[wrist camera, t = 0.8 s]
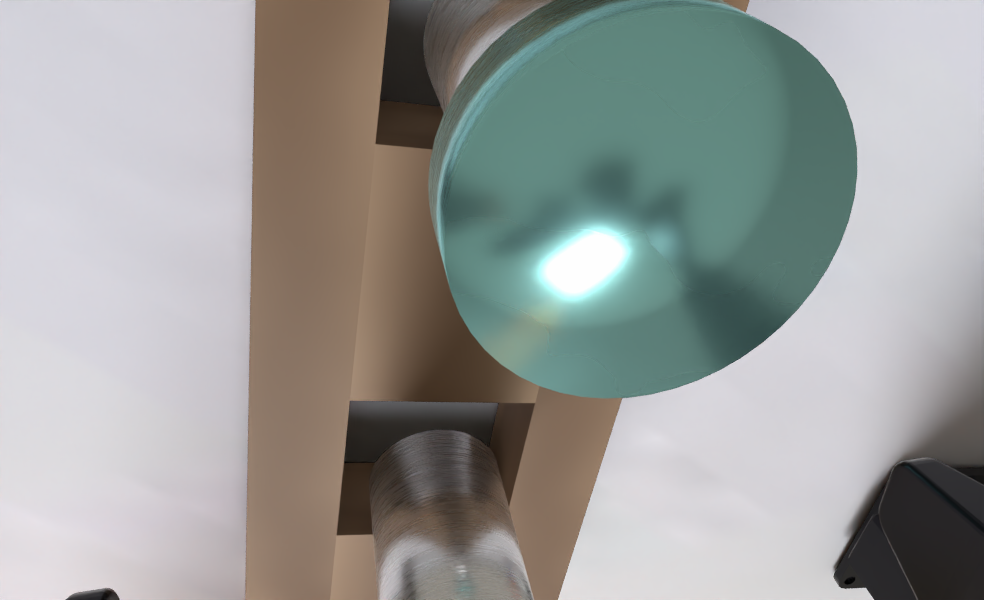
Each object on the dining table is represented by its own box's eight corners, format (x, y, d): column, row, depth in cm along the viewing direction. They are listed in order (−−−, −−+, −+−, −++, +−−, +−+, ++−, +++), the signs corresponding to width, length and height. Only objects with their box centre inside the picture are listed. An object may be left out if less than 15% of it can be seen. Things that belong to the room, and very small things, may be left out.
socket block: (772, -309, 17) (853, -326, 14) (530, 551, 30) (550, 621, 27) (273, -441, 14) (264, -490, 12) (251, 560, 27) (244, 638, 25)
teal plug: (659, -70, 15) (928, 43, 9) (598, 169, 18) (770, 400, 11) (402, -115, 14) (483, -24, 7) (376, 149, 17) (417, 394, 10)
